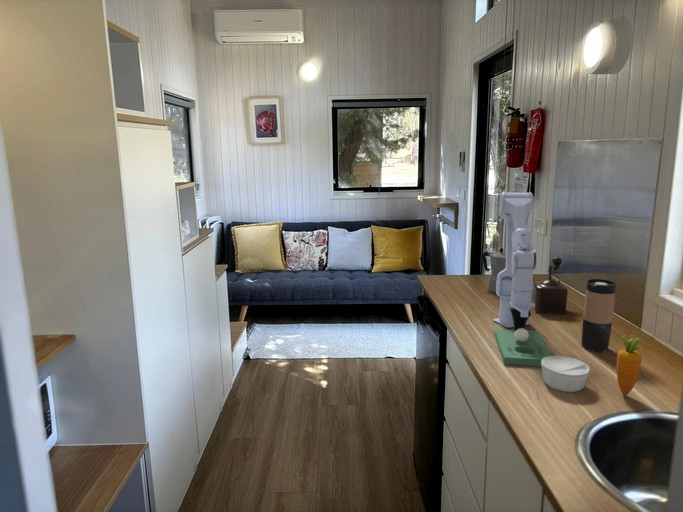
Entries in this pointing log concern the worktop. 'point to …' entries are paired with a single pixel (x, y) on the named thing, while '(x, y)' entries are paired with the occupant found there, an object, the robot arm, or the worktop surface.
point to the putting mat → (521, 348)
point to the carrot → (628, 365)
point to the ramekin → (564, 373)
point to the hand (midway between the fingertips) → (518, 332)
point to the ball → (521, 334)
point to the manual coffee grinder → (550, 293)
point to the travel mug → (598, 314)
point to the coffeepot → (494, 266)
